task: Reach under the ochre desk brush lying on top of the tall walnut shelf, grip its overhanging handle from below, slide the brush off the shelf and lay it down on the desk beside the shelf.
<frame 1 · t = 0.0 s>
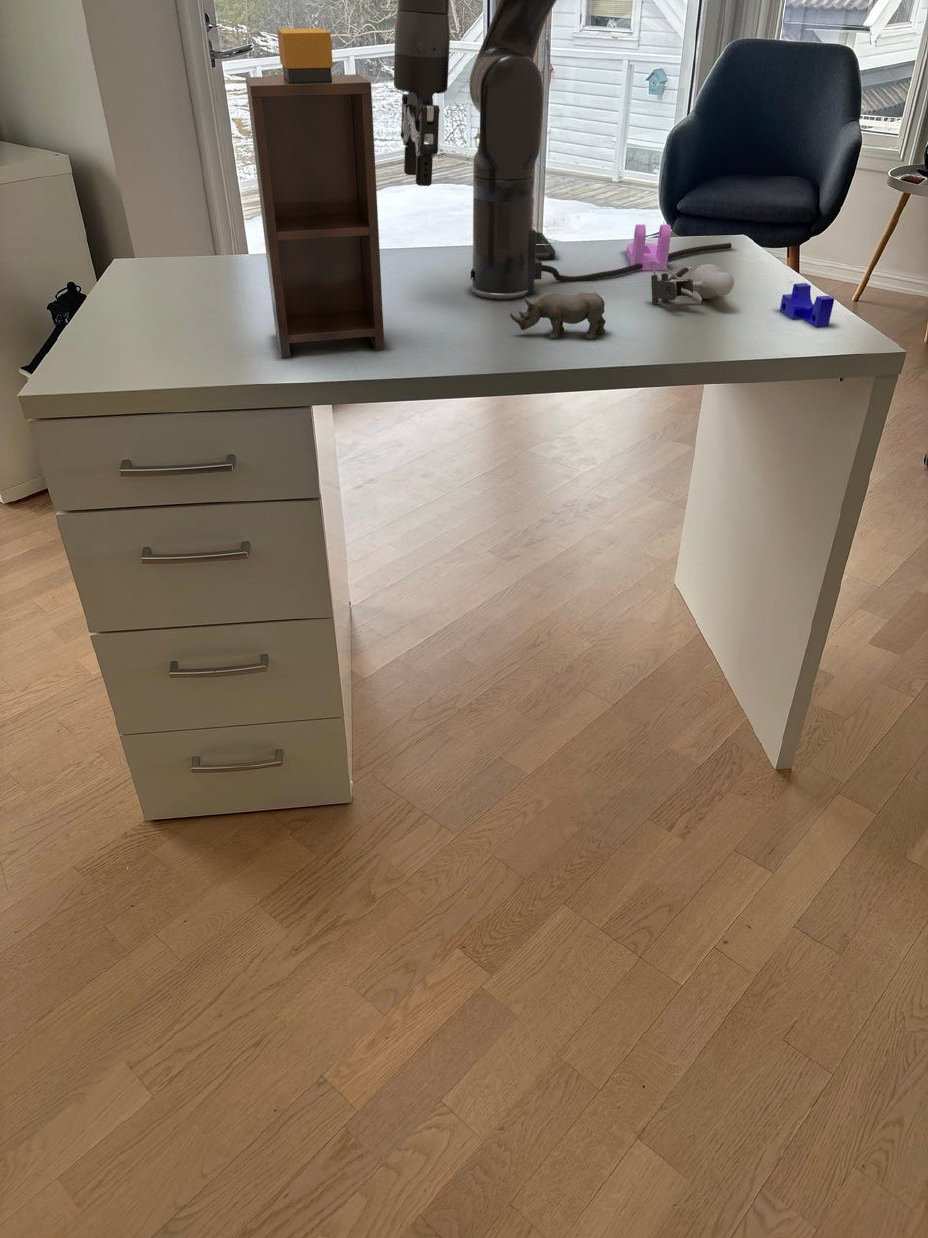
hand: (417, 179, 137), 17 cm above the table, tool pointing down, fingers open, 8 cm apart
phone: (527, 249, 171), on the table
brush: (307, 79, 111), point 32 cm above the table, touching shelf
clip-on lamp: (682, 298, 147), on the table
shelf: (329, 343, 130), on the table
cable holder: (803, 319, 139), on the table
rhino figurine: (557, 336, 133), on the table
bracket: (644, 261, 165), on the table
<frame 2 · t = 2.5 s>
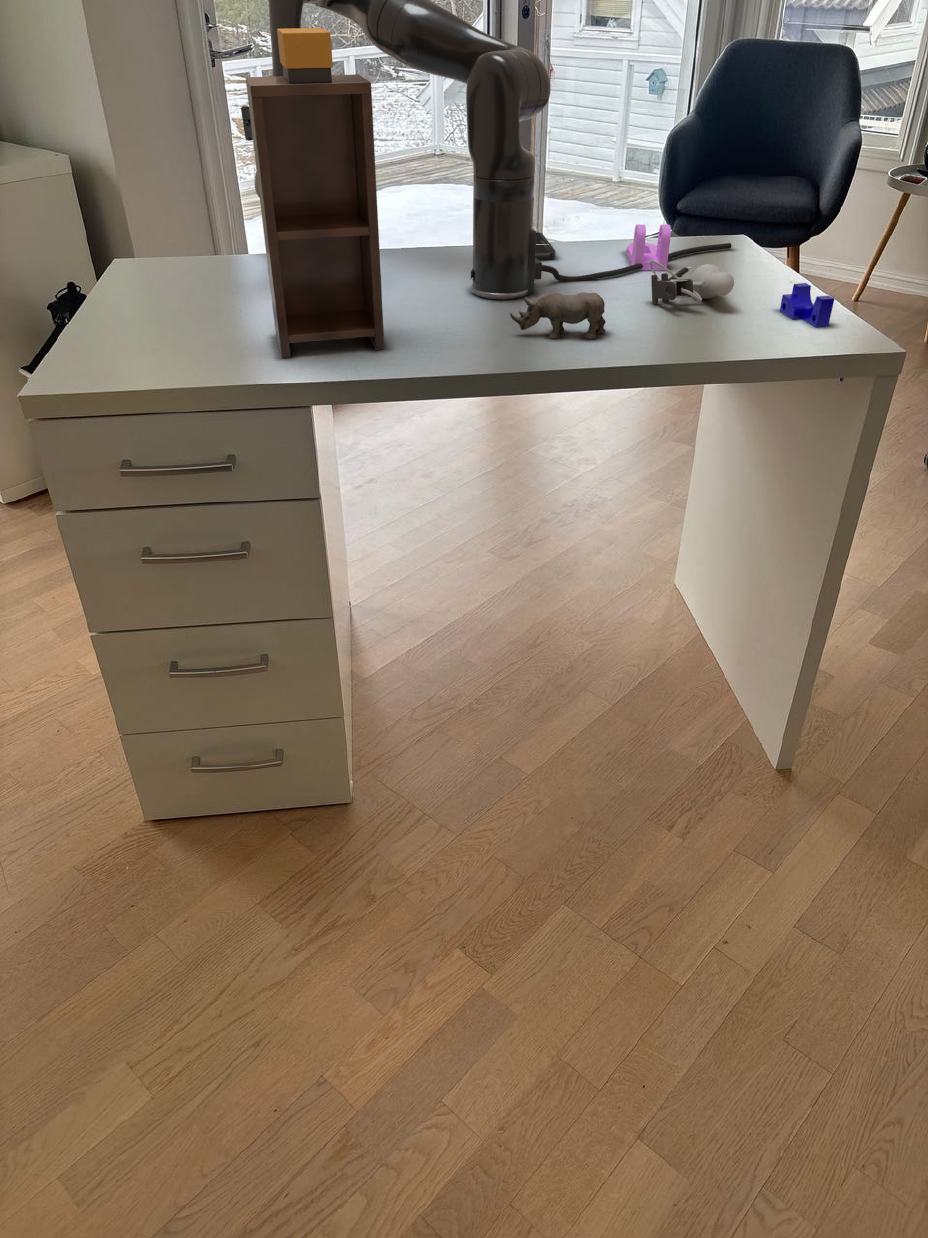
hand: (293, 99, 130), 28 cm above the table, tool pointing upward, fingers open, 8 cm apart
nothing on the table moved.
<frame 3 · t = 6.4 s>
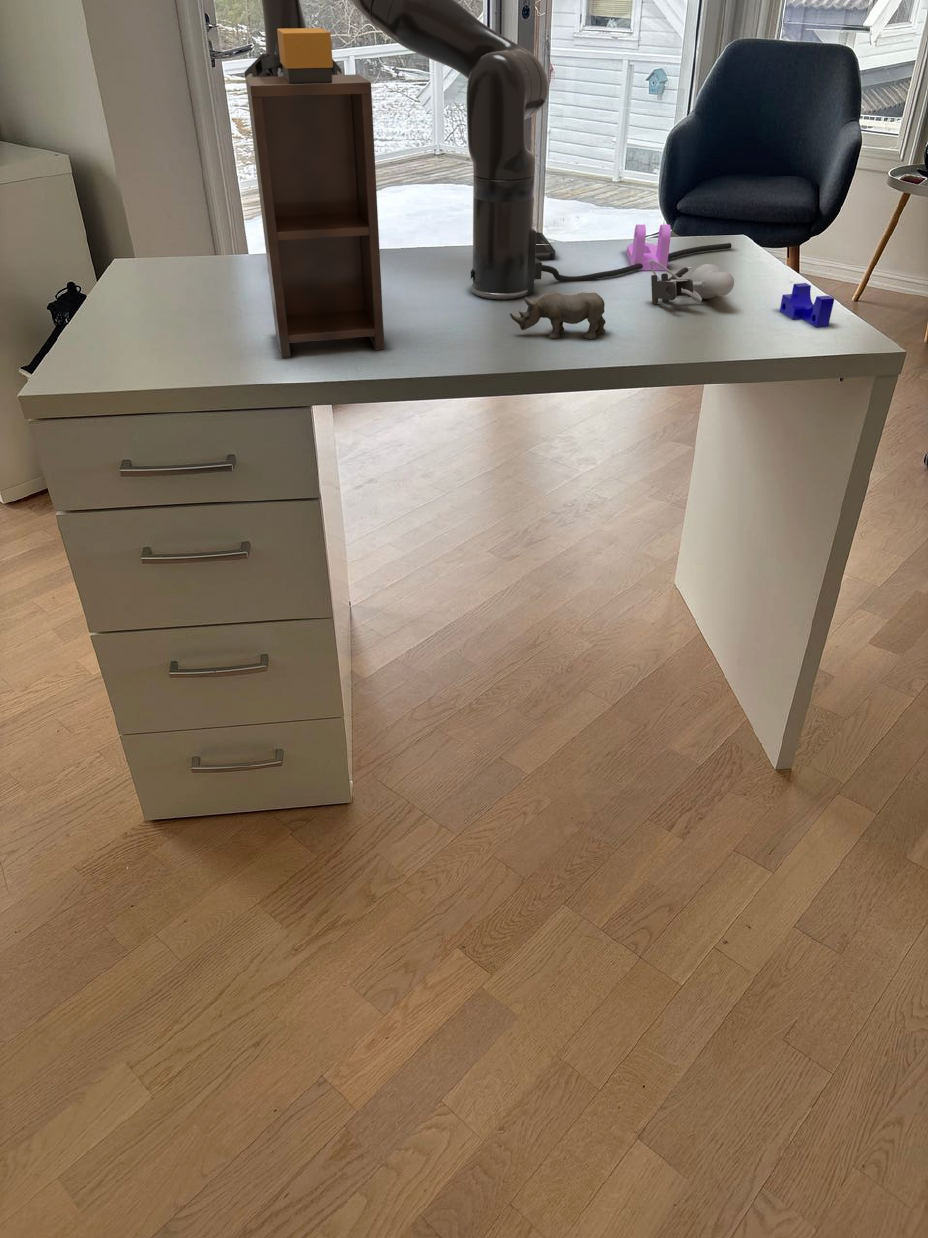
hand: (297, 44, 116), 35 cm above the table, tool pointing upward, fingers closed on brush, 2 cm apart
brush: (307, 79, 111), point 32 cm above the table, touching gripper, shelf
everything else where it was.
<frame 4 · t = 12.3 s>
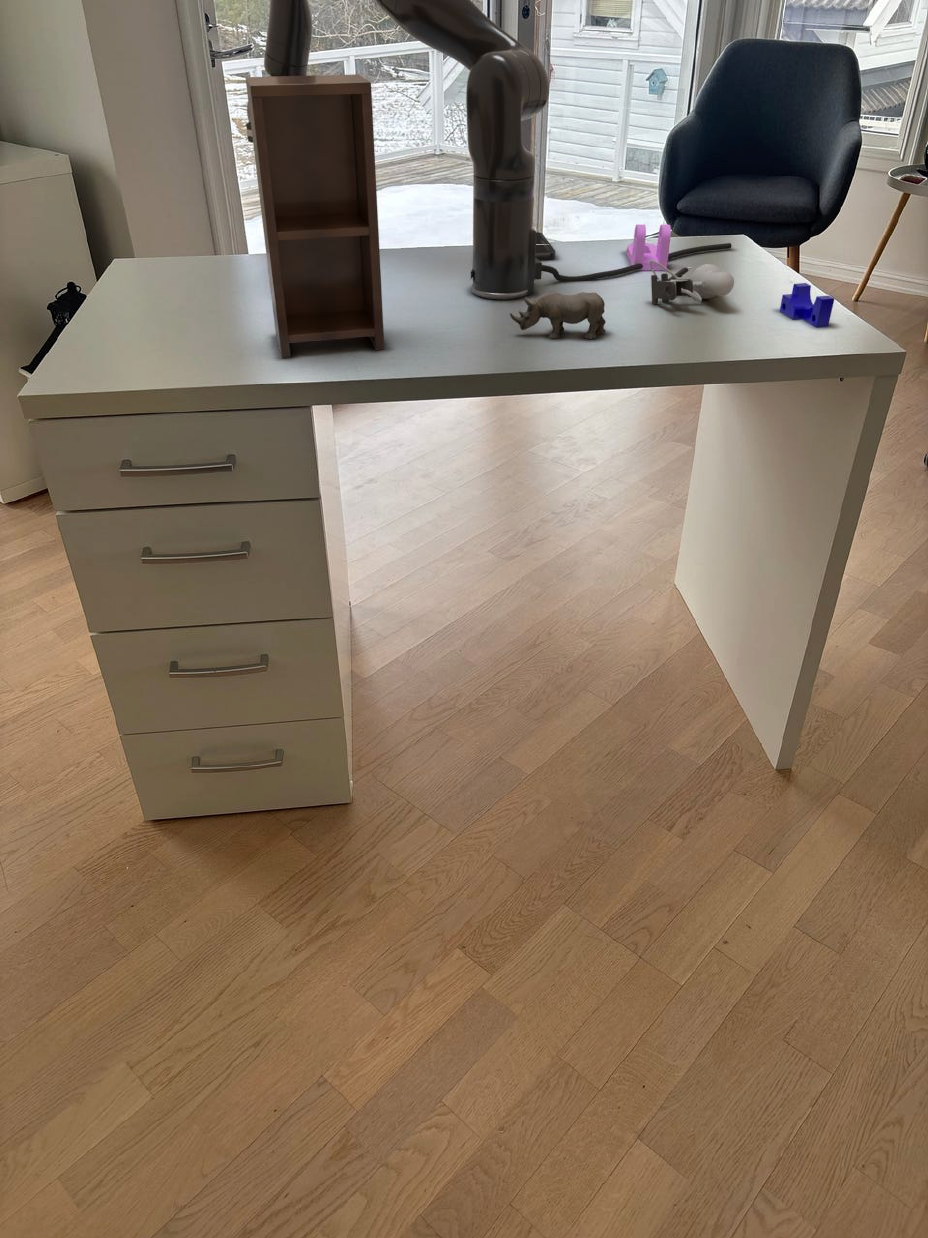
hand: (296, 138, 132), 23 cm above the table, tool horizontal, fingers closed on brush, 2 cm apart
brush: (305, 198, 131), point 16 cm above the table, tilted 28°, touching gripper
everything else where it was.
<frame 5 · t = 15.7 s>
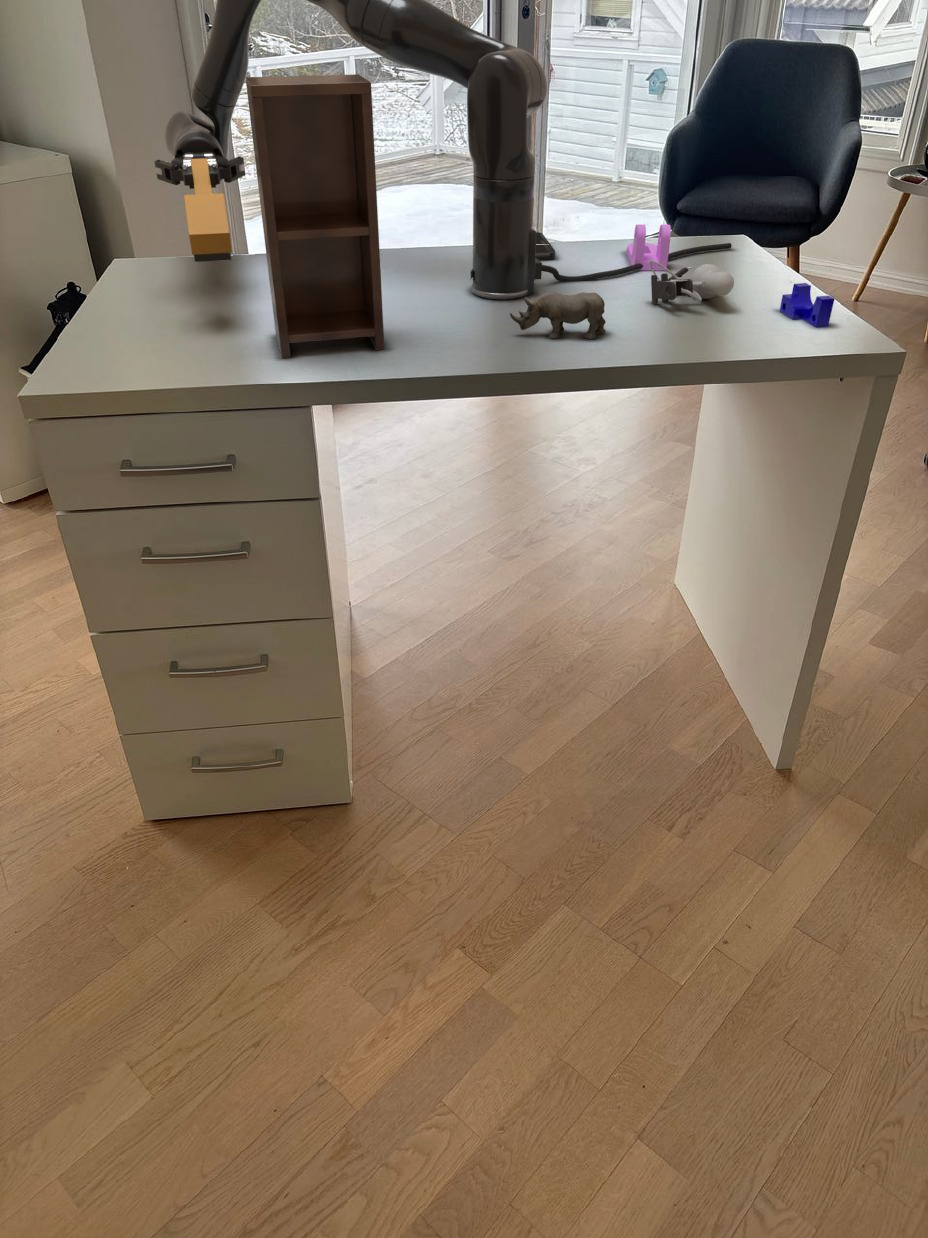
hand: (202, 180, 132), 18 cm above the table, tool horizontal, fingers closed on brush, 2 cm apart
brush: (210, 242, 132), point 11 cm above the table, tilted 30°, touching gripper
everything else where it was.
when the fingers open (9 cm above the table, at t = 18.5 s): brush drops 2 cm, on the table.
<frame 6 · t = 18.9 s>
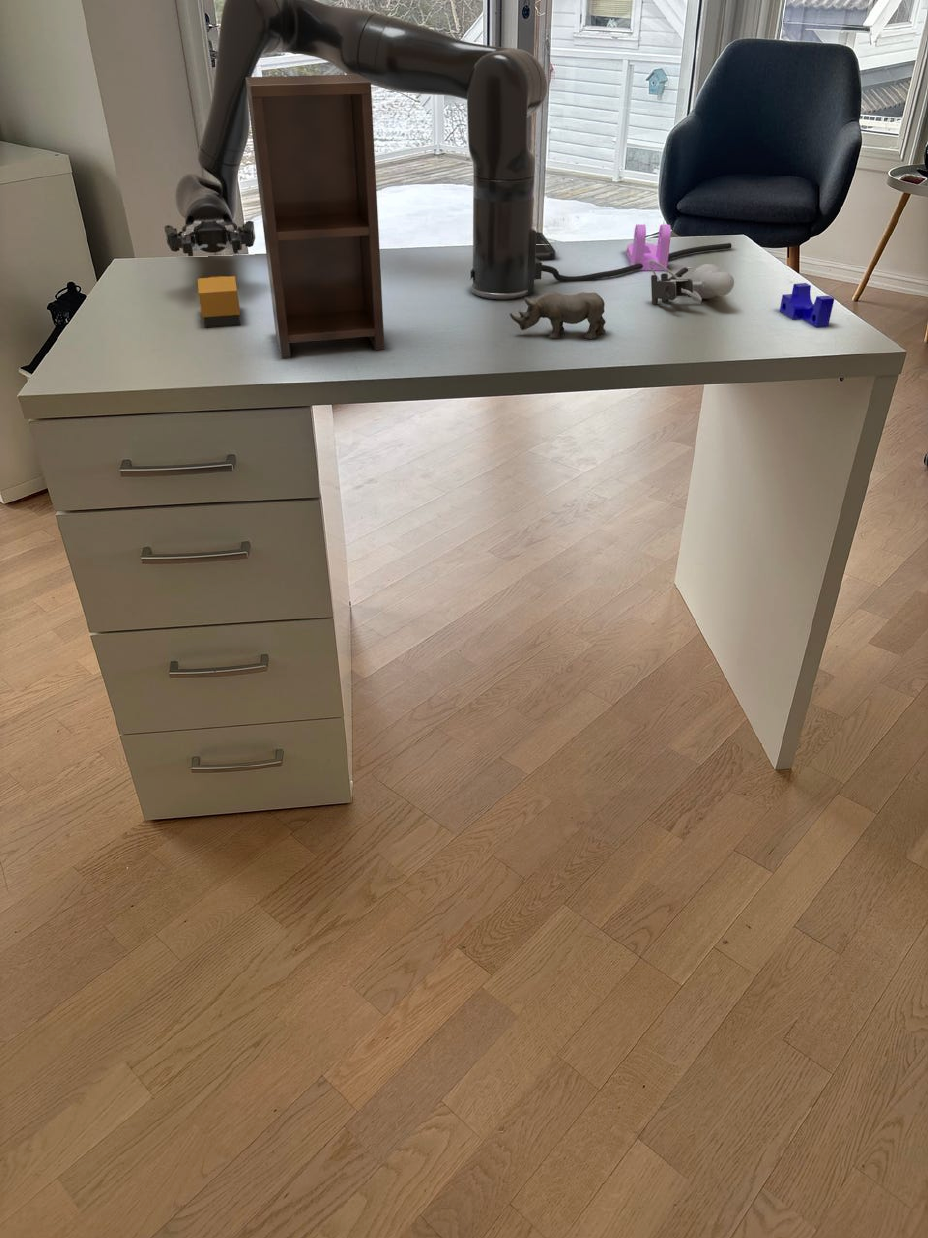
hand: (212, 247, 138), 9 cm above the table, tool horizontal, fingers open, 6 cm apart
brush: (222, 318, 139), on the table
everything else where it was.
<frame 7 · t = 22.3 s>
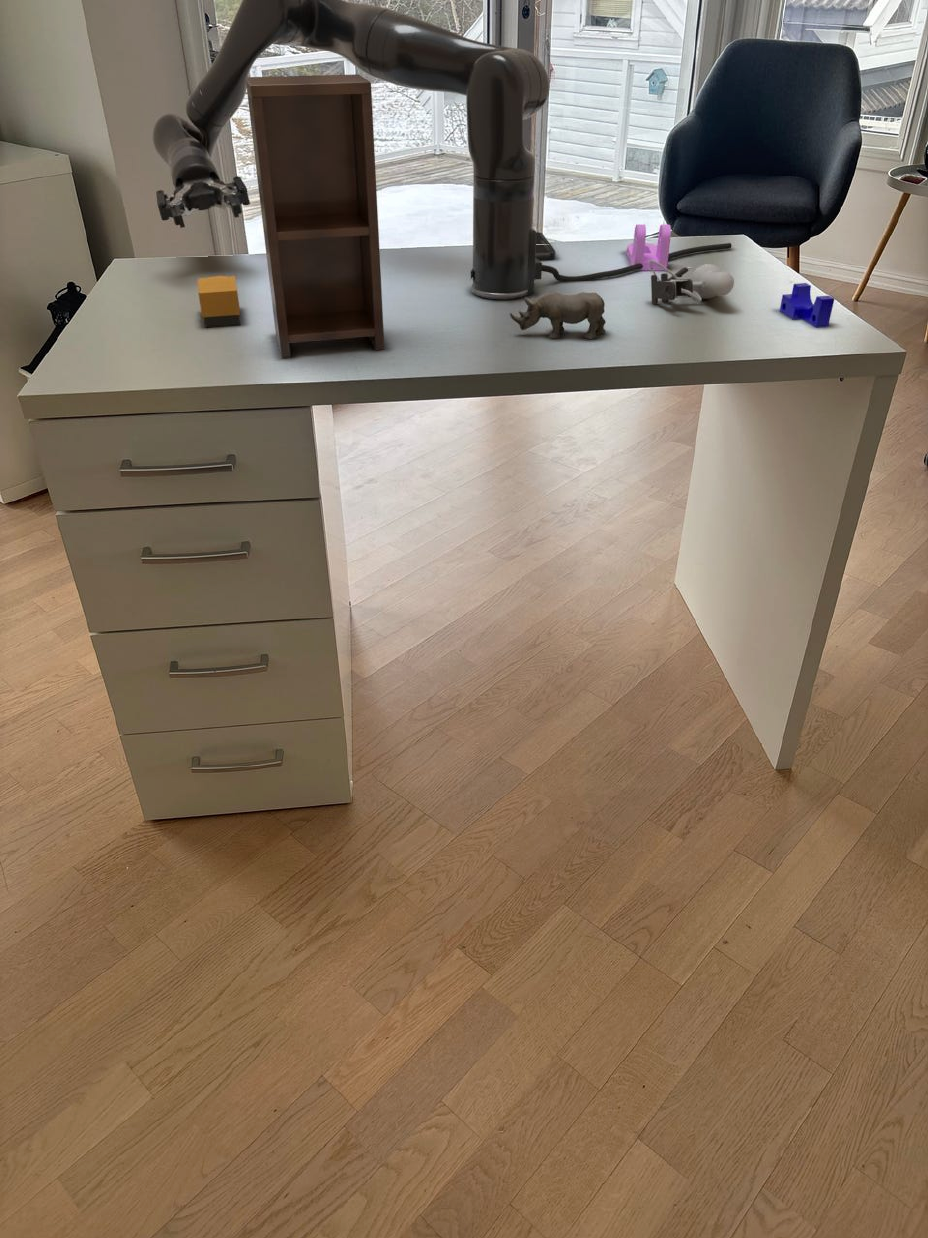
hand: (208, 216, 145), 11 cm above the table, tool horizontal, fingers open, 8 cm apart
nothing on the table moved.
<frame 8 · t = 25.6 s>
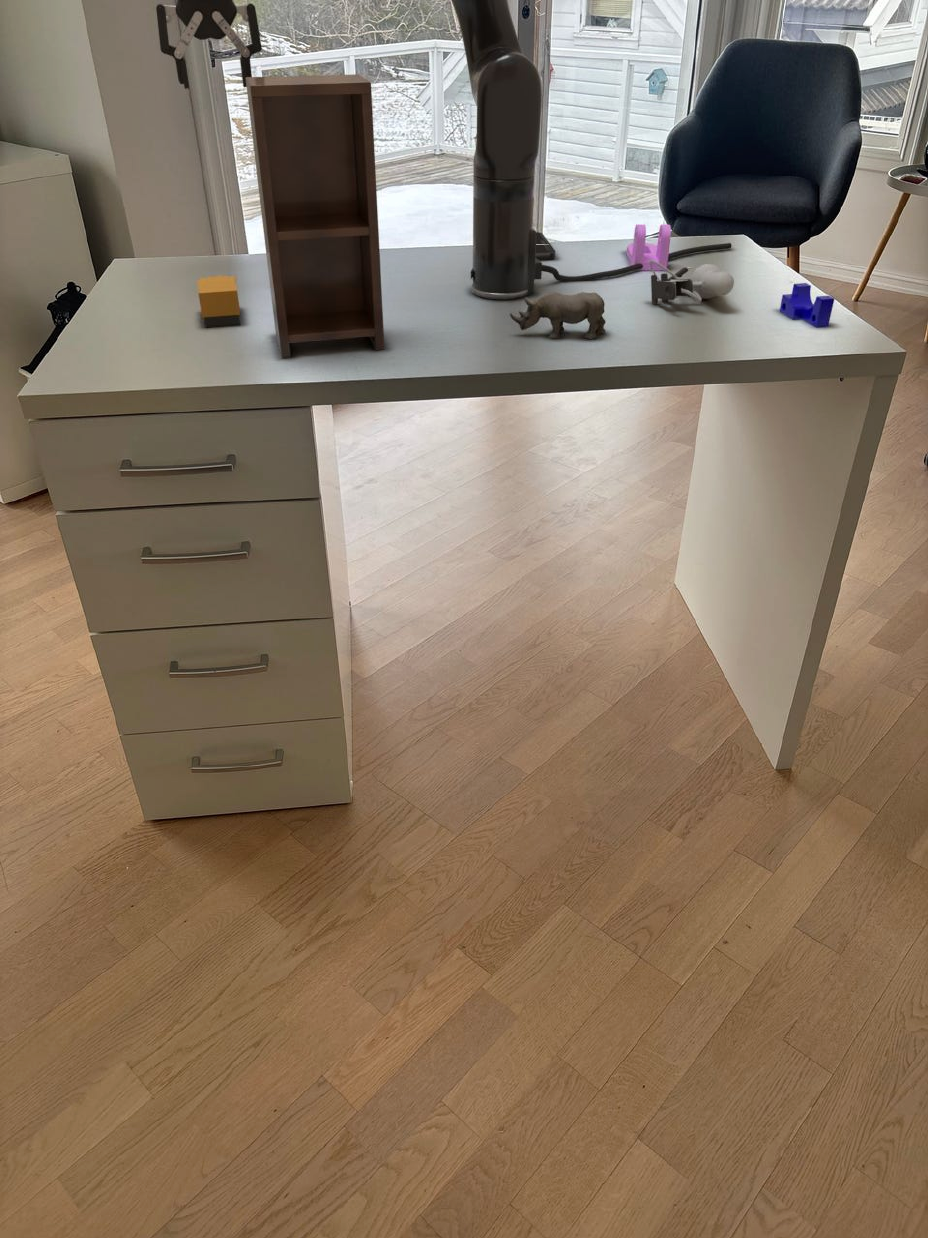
hand: (216, 87, 138), 28 cm above the table, tool pointing down, fingers open, 8 cm apart
nothing on the table moved.
at the end: brush inside the target area (4.0 cm from its centre), on the table; the gripper is holding nothing; brush touching table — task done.
